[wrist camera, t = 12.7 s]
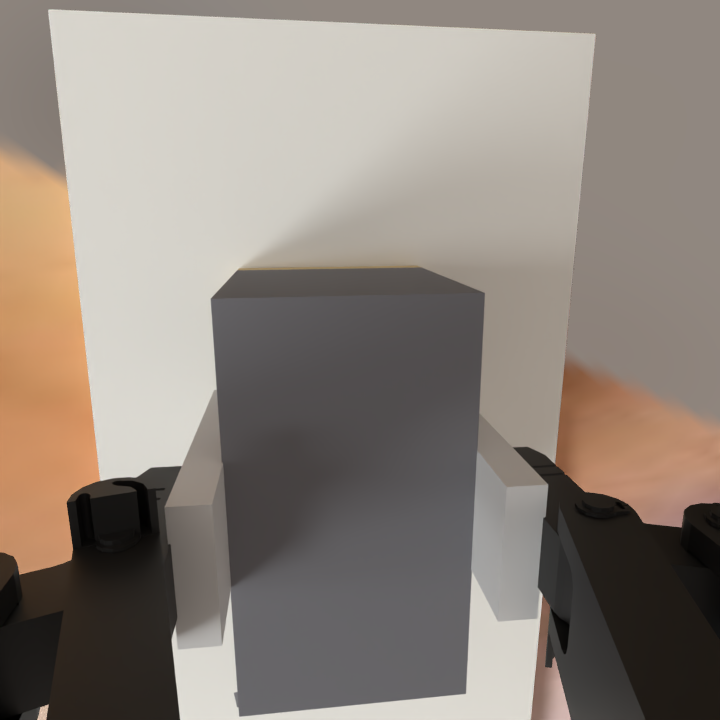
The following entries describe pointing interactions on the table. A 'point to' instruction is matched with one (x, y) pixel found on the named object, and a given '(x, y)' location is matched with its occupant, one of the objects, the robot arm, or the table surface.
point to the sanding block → (348, 481)
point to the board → (318, 234)
